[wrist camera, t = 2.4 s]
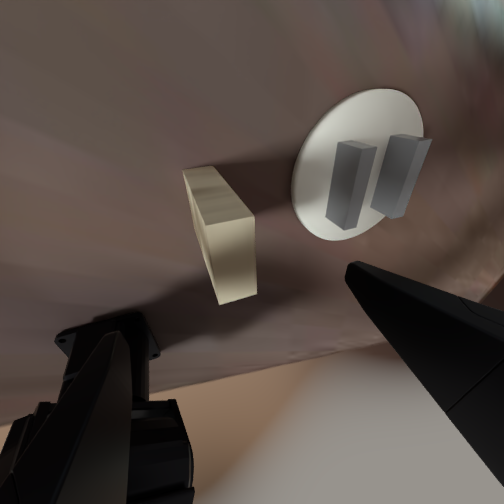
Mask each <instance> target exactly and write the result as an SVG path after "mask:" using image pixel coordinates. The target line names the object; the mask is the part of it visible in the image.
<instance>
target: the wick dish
mask: <svg viewBox="0 0 504 504" xmlns="http://www.w3.org/2000/svg"><path fill="white" fill-rule="evenodd" d="M431 141H432V139H429V138H423V122H422V118H421V114H420V112H419V110H418V107H417V106H416V104H415V103H414V101H413V100H412V99H411V98H410V97H408V96H407V95H406V94H404V93H402V92H400V91H397V90H393V89H368V90H362V91H359V92H356V93H353V94H352V95H350V96H348V97H346V98H344V99H342V100H341V101H339V102H338V103H337V104H335V105H334V106H333V107H332V108H330V109H329V110H328V111H327V112H326V113H325V114H324V115H323V116H322V117H321V118H320V119H319V121H318V122H317V123H316V124H315V126H314V127H313V128H312V130H311V131H310V133H309V134H308V136H307V138H306V139H305V141H304V143H303V145H302V147H301V149H300V151H299V154H298V156H297V159H296V162H295V165H294V170H293V174H292V181H291V198H292V204H293V208H294V211H295V213H296V216H297V218H298V219H299V221H300V222H301V223H302V224H303V225H304V226H305V227H306V228H307V229H308V230H309V231H310V232H311V233H313V234H314V235H316V236H317V237H320V238H322V239H326V240H344V239H348V238H351V237H354V236H357V235H359V234H361V233H363V232H365V231H366V230H368V229H370V228H371V227H373V226H374V225H375V224H377V223H378V222H379V221H380V220H381V219H382V218H384V217H385V216H387V217H389V218H391V219H394V218H398V217H402V216H403V215H404V212H405V209H406V207H407V204H408V201H409V199H410V196H411V194H412V191H413V188H414V186H415V183H416V181H417V178H418V175H419V173H420V170H421V167H422V165H423V162H424V160H425V157H426V154H427V152H428V149H429V147H430V144H431Z"/></svg>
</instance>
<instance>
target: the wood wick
mask: <svg viewBox="0 0 504 504" xmlns="http://www.w3.org/2000/svg"><path fill="white" fill-rule="evenodd" d="M182 171H183V175H184V180H185V185H186V190H187V195H188V199H189V204H190V209H191V214H192V219H193V223H194V228H195V232H196V235H197V238H198V241H199V244H200V247H201V250H202V253H203V256H204V259H205V262H206V266H207V269H208V272H209V275H210V278H211V281H212V284H213V287H214V290H215V293H216V296H217V299H218V302H219V305H221V304H225V303H228V302H232V301H235V300H238V299H242V298H245V297H249V296H252V295H255V294H257V279H256V249H255V218H254V215H253V214H252V213H251V211H250V210H249V209H248V208H247V206H246V205H245V204H244V203H243V202H242V200H241V199H240V198H239V197H238V196H237V194H236V193H235V192H234V191H233V190H232V188H231V187H230V186H229V185H228V184H227V182H226V181H225V180H224V179H223V177H222V176H221V175H220V174H219V173H218V171H217V170H216V169H215V168H214V167H213V166H206V167H199V168H191V169H184V170H182Z"/></svg>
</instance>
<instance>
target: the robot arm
mask: <svg viewBox="0 0 504 504" xmlns="http://www.w3.org/2000/svg"><path fill="white" fill-rule="evenodd" d="M345 282H346V284H347V285H348V287H349V288H350V290H351V291H352V293H353V294H354V296H355V298H356V299H357V301H358V302H359V304H360V305H361V307H362V308H363V310H364V311H365V313H366V314H367V315H368V317H369V318H370V319H371V320H372V322H373V323H374V324H375V325H376V327H377V328H378V329H379V330H380V332H381V333H382V334H383V336H384V337H385V338H386V339H387V341H388V342H389V343H390V344H391V345H392V347H393V348H394V349H395V351H396V352H397V353H398V354H399V356H400V357H401V358H402V359H403V361H404V362H405V363H406V364H407V366H408V367H409V368H410V370H411V371H412V372H413V373H414V375H415V376H416V377H417V378H418V380H419V381H420V382H421V383H422V385H423V386H424V387H425V388H426V390H427V391H428V392H429V393H430V395H431V396H432V397H433V399H434V400H435V401H436V402H437V404H438V405H439V406H440V407H441V409H442V410H443V411H444V412H445V414H446V415H447V416H448V418H449V419H450V420H451V422H452V423H453V424H454V425H455V427H456V428H457V429H458V430H459V432H460V433H461V434H462V435H463V437H464V438H465V439H466V440H467V442H468V443H469V444H470V446H471V447H472V448H473V449H474V451H475V452H476V453H477V454H478V456H479V457H480V458H481V459H482V461H483V462H484V463H485V464H486V466H487V467H488V468H489V469H490V471H491V472H492V473H493V475H494V476H495V477H496V478H497V480H498V481H499V482H500V483H501V484H502V486H503V487H504V311H501V310H498V309H495V308H491V307H488V306H485V305H482V304H479V303H477V302H474V301H471V300H468V299H465V298H462V297H459V296H458V297H457V296H456V295H454V294H451V293H448V292H445V291H442V290H440V289H437V288H434V287H431V286H428V285H425V284H423V283H420V282H417V281H414V280H411V279H408V278H406V277H403V276H400V275H397V274H394V273H392V272H389V271H386V270H383V269H380V268H377V267H375V266H372V265H369V264H366V263H363V262H360V261H355V262H351V263H349V264H348V266H347V270H346V274H345ZM54 342H55V344H56V345H57V346H58V347H59V348H60V349H61V350H62V351H63V352H64V353H65V354H66V356H67V357H68V358H69V359H68V362H67V365H66V369H65V372H64V376H63V384H62V387H61V390H60V394H59V397H58V401H57V403H50V402H39V404H38V406H37V407H36V409H35V411H34V413H33V414H28V416H25V417H23V418H20V419H17V420H15V421H14V422H13V424H12V426H11V429H10V431H9V433H8V436H7V438H6V441H5V443H4V446H3V449H2V451H1V453H0V504H192V503H193V498H194V493H195V490H194V487H192V482H193V472H194V461H193V452H192V449H191V445H190V442H189V438H188V435H187V432H186V429H185V426H184V423H183V420H182V417H181V415H180V411H179V408H178V405H177V402H176V399H168V400H167V401H149V360H152V359H155V358H158V357H159V356H160V349H159V347H158V344H157V342H156V340H155V338H154V336H153V334H152V332H151V330H150V328H149V325H148V323H147V321H146V319H145V317H144V315H143V314H142V313H141V312H135V313H131V314H128V315H124V316H120V317H117V318H113V319H109V320H106V321H102V322H99V323H95V324H91V325H88V326H84V327H80V328H77V329H73V330H70V331H66V332H62V333H59V334H58V335H56V338H55V341H54Z"/></svg>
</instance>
